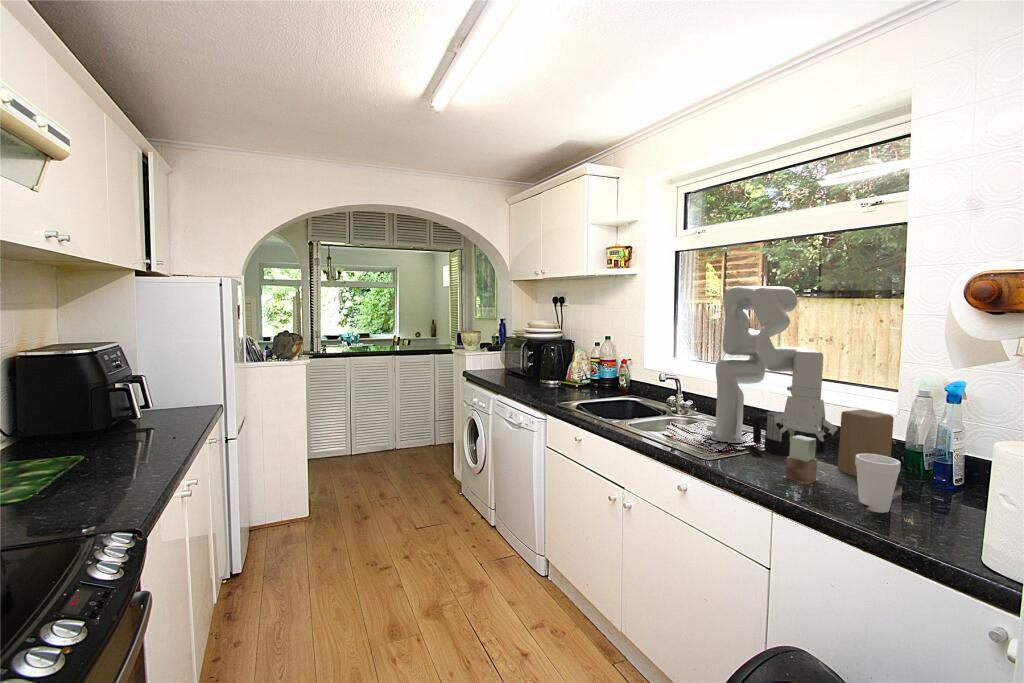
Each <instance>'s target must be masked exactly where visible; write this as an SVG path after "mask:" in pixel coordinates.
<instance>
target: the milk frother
mask: <svg viewBox="0 0 1024 683" xmlns="http://www.w3.org/2000/svg"><path fill="white" fill-rule="evenodd" d="M781 414H784V412H783V411H775V410H774V411H767V412H766V414H765V413H763V414H759V415H757V416H755V417H754V418H753V421H752V426H753V427H752V434H753V435H752V440H753V443H754V444H755V445H756V444H758V445H759V444H760V443H761V442H762V422H763V421H765V435H764V445H763V446H764V450H761V449H760V448H758V447H756V446H753V445H751V444H750V445H749V444H748V445H746V446H745V450H746V451H747V452H748V453H749V454H750V455H751V456H753V457H754V458H761V459H762V458H766V453H767V454H770V455H773V456H780V457H789V454H790V442H789V445H788V446H785V447H784V446H782V442H781V437H782V433H781V432H780V430H779V428H778V427H777V426H776V423H775V420H774V416H777V415H781ZM781 423H783V418H782V419H781ZM795 431H796V430H792V429H790V430H789V431H788V432H790V438H791V437H794V436H795ZM765 452H766V453H765Z"/></svg>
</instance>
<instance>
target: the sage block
mask: <svg viewBox="0 0 1024 683" xmlns="http://www.w3.org/2000/svg"><path fill="white" fill-rule="evenodd" d="M816 449H817V438H814V437H809V436H804V435H801V434H800V435H799V434H797V435H794V437H791V438H790V454H789V456H788V457H789V458H794V459H798V460H802V461H806V462H808V461H811V460H813V459H816Z"/></svg>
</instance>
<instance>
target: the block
mask: <svg viewBox="0 0 1024 683" xmlns="http://www.w3.org/2000/svg"><path fill="white" fill-rule="evenodd" d="M894 420H895V418H894V416H892V414H886V413H882V412H878V411H872V410H867V409H854V410H844V411H842V412H841V415H840V427H839V428H840V429H839V430H840V431H839V445H838V456H837V457H838V458H837V459H838V460H837V471H839V472H841V473H845V474H848V475H851V476H855V477H857V468H856V464H855V461H856V455H857V454H877V455H882V456H887V457H891V458H892V447H893V446H892V445H893V431H894Z"/></svg>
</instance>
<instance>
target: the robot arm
mask: <svg viewBox="0 0 1024 683" xmlns="http://www.w3.org/2000/svg"><path fill="white" fill-rule="evenodd" d="M722 300H723V302H722V303H723V311H724V318H725V319H724V327H723V337H722V349H723V350H722V351H723V352H724V353H725V354H727V355H730V356H747V357H748V356H749V357H748V358H741V357H740V358H739V357H735V358H734V357H731V358H730V357H728V358H727V357H726V358H723V359H720V360H718V361H717V363H716V365H715V378H716V389H717V390H716V408H715V409H716V410H715V425H712V424H708V425H707V427H706V431H709V432H712V433H711V434H710V439H711V440H713V441H715V442H718V441H720V442H719V443H722V442H728V443H727V444H729V443H742V444H744V443H743V442H745V441H746V442H747V438H746V437H745V436H743V422H744V421H743V420H744V405H745V404H744V402H745V401H744V400H745V396H744V392H743V390H742V389H741V388H740V386H739V384H759V383H761V382H762V381H763V380H764V377H765V374H766V369H767V370H768V371H771V372H790V373H792V378H791V385H788V386H787V387H786V390H787V391H790V394H788V395H787V399H786V401H785V406H784V410H783V411H784V414H781V415H777V416H774V420H775V423H776V426H777V427H778V428H779V430H780V432H781V433H782V437H781V442H782V446H784V447H785V446H788V445H789V442H790V432H788V431H789V430H790V429H792V430H795V431H797V432H802V433H807V434H813V435H816V437H817V438H818V440H816V455H818V456H820V455H823V454H824V453H825V452H826V451H827V450H826V449H827V448H826V447H827V440H829V439H830V438H832V437H833V436H834V435H835V433H836V432H837V431H838V430H839V428H838V427H837V426H836V425H834V424H832V423H831V422H830V421H829V420H827V419H826V410H825V409H826V408H825V402H824V398H822V385H823V371H824V353H823V352H821V351H819V350H812V349H809V348H806V347H803V346H802V347H800V346H798V347H795V346H793V347H792V346H774V344H773V341H772V340H771V337H773V336H776V335H778V334H781V333H782V332H784V331H785V330H787V329H788V327H789V326H790V324H791V319H790V317H789V315H788V313H789V312H792V311H793V310H795V308H797V304H798V296H797V294H796V292H795V291H794V290H793V289H792V288H791V287H787V286H753V285H752V286H750V285H745V286H743V285H742V286H741V285H738V286H732V287H730V288H728V289H727V290H726V292H725V294H724V295H723V299H722ZM750 310H751V311H754V314H755V316H756V319H757V320H758V322H759V325H760V326H761V329H760V330H750V321H751V320H750V319H751V318H750V316H749V314H748V312H747V311H750ZM782 418H783V423H781V419H782ZM825 428H827V429H828V432H827V433H825ZM746 442H745V443H746Z"/></svg>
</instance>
